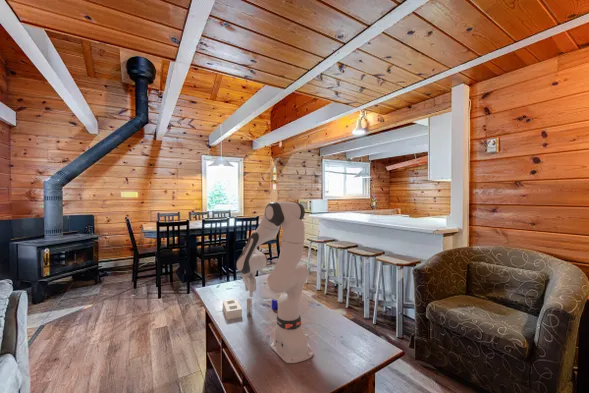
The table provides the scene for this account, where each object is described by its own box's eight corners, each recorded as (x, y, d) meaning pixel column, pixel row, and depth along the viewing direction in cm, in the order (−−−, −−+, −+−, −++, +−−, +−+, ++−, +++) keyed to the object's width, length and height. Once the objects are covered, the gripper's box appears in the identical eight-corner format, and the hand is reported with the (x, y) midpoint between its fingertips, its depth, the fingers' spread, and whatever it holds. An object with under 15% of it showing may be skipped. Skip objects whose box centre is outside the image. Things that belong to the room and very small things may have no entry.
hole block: (241, 316, 156) (242, 308, 156) (226, 319, 152) (226, 311, 152) (236, 306, 170) (236, 298, 170) (222, 308, 167) (222, 300, 166)
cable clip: (282, 302, 177) (282, 293, 177) (287, 303, 175) (287, 295, 174) (270, 308, 168) (270, 299, 168) (275, 310, 165) (275, 301, 165)
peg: (252, 316, 157) (252, 300, 157) (247, 317, 156) (247, 300, 155) (251, 313, 160) (251, 298, 159) (246, 314, 158) (246, 298, 158)
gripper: (259, 276, 149) (258, 299, 149) (250, 266, 168) (249, 286, 168) (248, 277, 146) (247, 301, 147) (240, 267, 165) (240, 288, 165)
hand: (248, 293), depth 158 cm, fingers open, 8 cm apart
